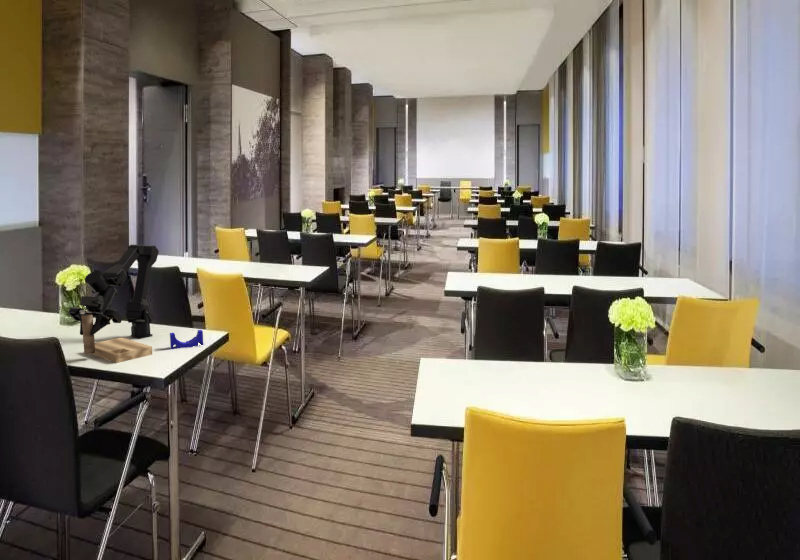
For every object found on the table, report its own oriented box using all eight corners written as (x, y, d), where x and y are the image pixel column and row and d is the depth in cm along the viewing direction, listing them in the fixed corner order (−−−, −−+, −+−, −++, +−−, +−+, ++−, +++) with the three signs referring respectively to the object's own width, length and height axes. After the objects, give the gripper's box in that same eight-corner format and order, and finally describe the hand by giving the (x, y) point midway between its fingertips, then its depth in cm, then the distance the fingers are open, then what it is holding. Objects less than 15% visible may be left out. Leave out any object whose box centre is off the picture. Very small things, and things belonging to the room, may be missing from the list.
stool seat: (121, 344, 231) (121, 337, 231) (152, 354, 219) (151, 346, 218) (86, 352, 220) (85, 344, 219) (116, 363, 208) (115, 354, 207)
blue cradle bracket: (201, 343, 236) (200, 328, 235) (203, 345, 232) (202, 331, 231) (170, 346, 230) (169, 332, 229) (171, 349, 226) (170, 334, 225)
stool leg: (92, 350, 214) (89, 314, 212) (97, 352, 212) (94, 315, 210) (82, 352, 211) (79, 315, 209) (87, 354, 209) (84, 317, 207)
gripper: (69, 286, 213) (49, 322, 204) (115, 288, 211) (98, 324, 202) (85, 302, 222) (67, 337, 213) (129, 304, 220) (113, 340, 211)
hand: (85, 334), depth 209 cm, fingers closed on stool leg, 4 cm apart
